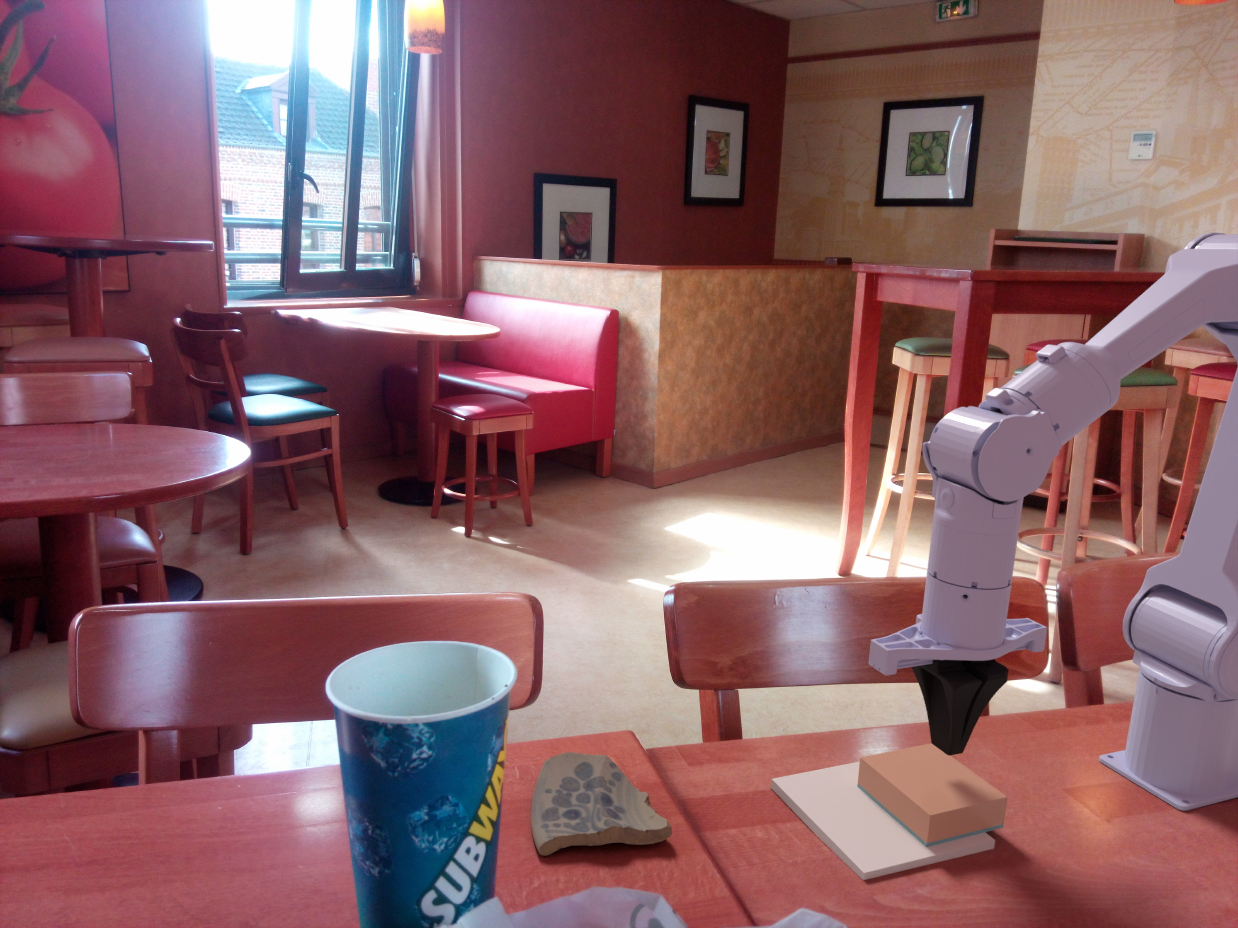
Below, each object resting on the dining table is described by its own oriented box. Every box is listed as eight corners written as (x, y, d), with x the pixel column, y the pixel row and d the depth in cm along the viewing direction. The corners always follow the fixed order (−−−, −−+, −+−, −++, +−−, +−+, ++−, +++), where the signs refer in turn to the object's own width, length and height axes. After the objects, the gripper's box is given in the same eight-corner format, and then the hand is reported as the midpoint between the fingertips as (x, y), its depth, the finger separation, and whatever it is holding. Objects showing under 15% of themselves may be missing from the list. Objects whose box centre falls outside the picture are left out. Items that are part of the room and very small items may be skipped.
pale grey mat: (888, 764, 77) (889, 755, 77) (993, 849, 66) (995, 839, 66) (770, 787, 73) (771, 778, 73) (862, 883, 62) (863, 872, 62)
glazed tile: (932, 742, 74) (860, 757, 72) (1007, 796, 67) (930, 815, 64) (929, 770, 75) (857, 786, 72) (1003, 827, 67) (926, 846, 65)
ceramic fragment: (675, 842, 63) (531, 820, 62) (667, 880, 64) (524, 859, 63) (666, 753, 73) (542, 734, 73) (659, 787, 74) (536, 769, 74)
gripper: (1005, 550, 72) (984, 709, 75) (851, 566, 67) (834, 736, 70) (1079, 580, 66) (1052, 752, 69) (914, 600, 61) (893, 785, 64)
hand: (946, 747), depth 69 cm, fingers closed
